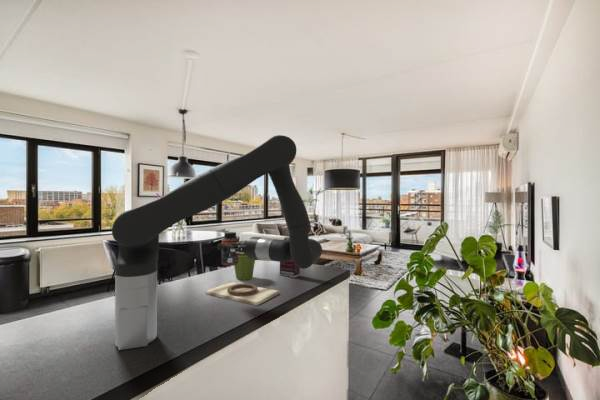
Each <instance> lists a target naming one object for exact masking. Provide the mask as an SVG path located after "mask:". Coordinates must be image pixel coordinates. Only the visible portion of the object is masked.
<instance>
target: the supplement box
mask: <svg viewBox="0 0 600 400" xmlns="http://www.w3.org/2000/svg"><path fill="white" fill-rule="evenodd" d="M300 271H301V268H299V267H298V266H297V265H296V264H295V263H294V262H293V260H290V261H288V262H279V275H280V276H282V275H284V276H283V277H288V276H289V278H297V277H300V273H301V272H300Z"/></svg>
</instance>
